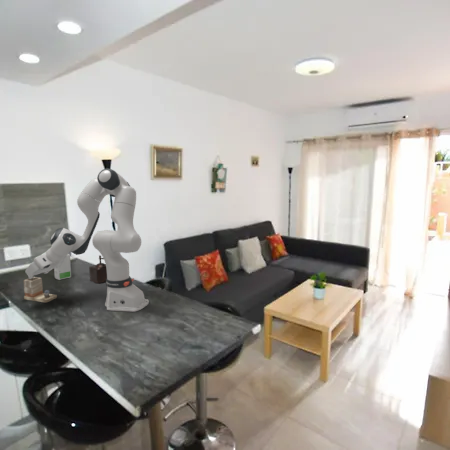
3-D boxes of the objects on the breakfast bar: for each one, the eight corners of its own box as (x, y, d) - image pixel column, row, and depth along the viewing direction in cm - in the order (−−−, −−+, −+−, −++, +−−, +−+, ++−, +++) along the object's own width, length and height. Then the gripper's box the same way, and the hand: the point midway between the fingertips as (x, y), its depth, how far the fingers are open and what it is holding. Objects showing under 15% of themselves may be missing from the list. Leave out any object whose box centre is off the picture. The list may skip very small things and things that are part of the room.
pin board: (56, 297, 163) (56, 288, 162) (46, 302, 156) (45, 293, 156) (35, 294, 167) (34, 285, 166) (24, 299, 160) (23, 289, 160)
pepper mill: (98, 284, 185) (97, 256, 182) (89, 280, 191) (87, 253, 189) (120, 278, 197) (119, 251, 194) (111, 274, 204) (110, 249, 201)
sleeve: (43, 293, 165) (41, 278, 163) (33, 297, 159) (31, 281, 158) (34, 292, 166) (33, 276, 165) (24, 296, 161) (23, 280, 159)
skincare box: (58, 280, 191) (57, 256, 188) (54, 278, 194) (52, 255, 192) (71, 277, 197) (70, 254, 195) (67, 275, 201) (65, 252, 199)
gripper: (63, 249, 163) (49, 265, 167) (31, 258, 144) (16, 276, 147) (70, 258, 163) (56, 273, 166) (40, 268, 143) (25, 285, 147)
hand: (37, 275), depth 157 cm, fingers open, 8 cm apart
